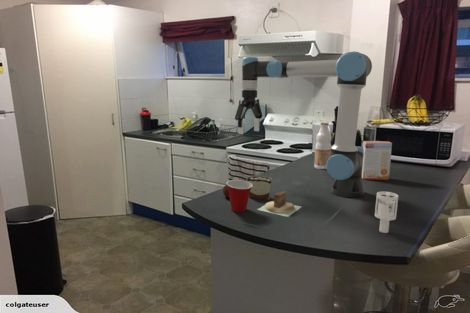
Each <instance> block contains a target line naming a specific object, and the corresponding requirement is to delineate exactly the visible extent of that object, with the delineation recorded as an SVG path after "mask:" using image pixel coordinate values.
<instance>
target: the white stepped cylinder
mask: <svg viewBox="0 0 470 313" xmlns="http://www.w3.org/2000/svg"><path fill="white" fill-rule="evenodd" d="M398 202H399V194H397V193H395V192H392V191H377V192H376V199H375V209H374V217H375V218H377V219H379V229H378V230H379V231H378V232H380V233H384V234H388V233H389V230H390V221H395V220H396V219H397V212H398Z"/></svg>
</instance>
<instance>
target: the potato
mask: <svg viewBox="0 0 470 313" xmlns="http://www.w3.org/2000/svg"><path fill="white" fill-rule="evenodd" d="M222 193H223V196H225V198H229V191H228V186H227V184H226V185H224V186H223V188H222ZM229 199H230V198H229Z"/></svg>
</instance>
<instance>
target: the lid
mask: <svg viewBox="0 0 470 313" xmlns="http://www.w3.org/2000/svg"><path fill="white" fill-rule="evenodd" d="M286 198H287V192H286V191H285V190H284V191H283V190H280V191H278V192H276V193H274V197H273V200H271V201H268V202H266V203H265V204H264V205H265V209H266V210H268V211H270V212H274V213H289V212H292V211H294V205H295V204H293V203H292V202H288V201H286Z"/></svg>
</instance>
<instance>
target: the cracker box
mask: <svg viewBox="0 0 470 313" xmlns="http://www.w3.org/2000/svg"><path fill="white" fill-rule="evenodd" d="M362 142H363V143H362V148H363V149H364V155H363V166H362V180H373V181H374V180H375V181H376V180H379V181H380V180H381V181H389V179H390V171H391V159H392V150H393V149H392V148H393V147H392V146H393V142H390V141H388V140H387V141H385V140H384V141H383V140H382V141H380V140H363V141H362Z"/></svg>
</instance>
